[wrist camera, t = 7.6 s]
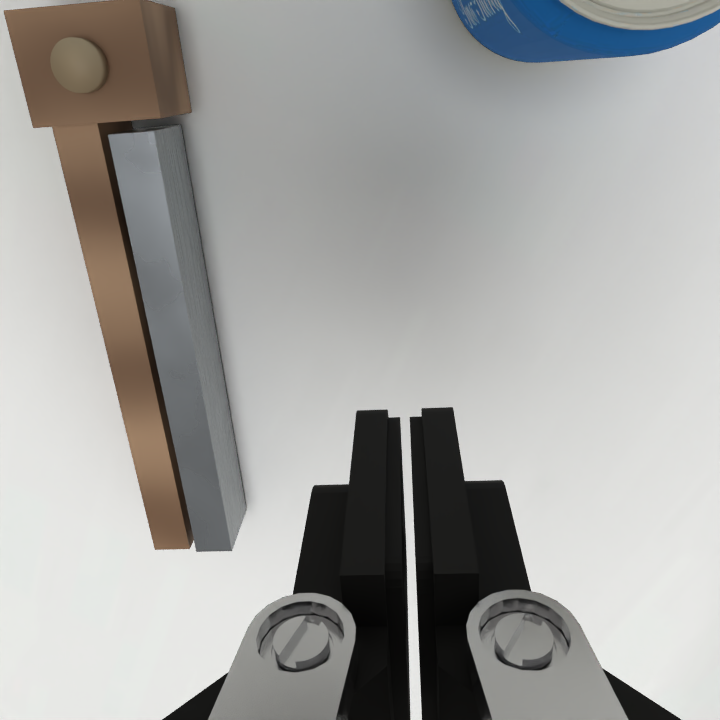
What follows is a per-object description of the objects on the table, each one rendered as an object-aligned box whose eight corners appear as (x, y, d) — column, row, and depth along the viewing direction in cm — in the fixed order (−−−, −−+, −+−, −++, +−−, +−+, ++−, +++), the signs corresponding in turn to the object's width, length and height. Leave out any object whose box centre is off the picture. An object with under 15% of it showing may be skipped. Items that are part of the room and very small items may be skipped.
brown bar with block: (56, 18, 24) (-8, 8, 20) (174, 8, 24) (131, -4, 20) (167, 509, 32) (137, 566, 29) (256, 507, 32) (236, 564, 28)
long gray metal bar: (140, 127, 25) (107, 134, 22) (180, 124, 25) (153, 131, 22) (214, 510, 32) (196, 551, 29) (246, 509, 32) (231, 551, 29)
